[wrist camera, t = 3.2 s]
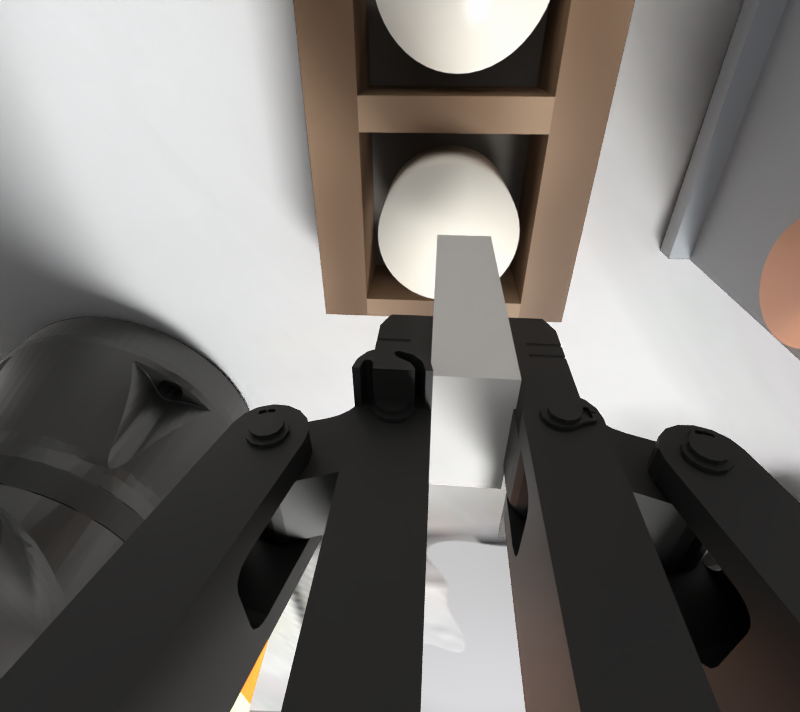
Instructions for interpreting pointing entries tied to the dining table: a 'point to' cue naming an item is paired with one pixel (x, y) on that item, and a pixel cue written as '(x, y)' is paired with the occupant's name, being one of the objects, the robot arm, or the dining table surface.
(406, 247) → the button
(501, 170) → the button board
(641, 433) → the dining table surface
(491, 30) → the middle button
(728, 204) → the pattern panel
